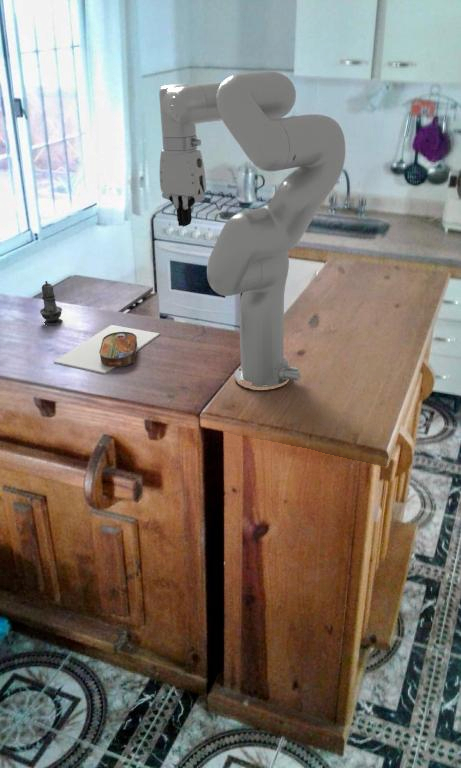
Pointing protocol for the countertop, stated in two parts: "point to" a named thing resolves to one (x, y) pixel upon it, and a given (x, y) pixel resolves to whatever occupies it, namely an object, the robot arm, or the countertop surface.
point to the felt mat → (89, 350)
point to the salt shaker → (50, 307)
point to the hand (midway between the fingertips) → (184, 224)
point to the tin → (118, 349)
